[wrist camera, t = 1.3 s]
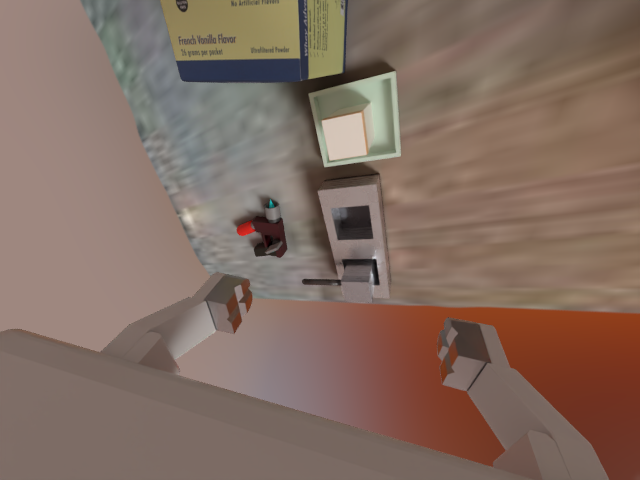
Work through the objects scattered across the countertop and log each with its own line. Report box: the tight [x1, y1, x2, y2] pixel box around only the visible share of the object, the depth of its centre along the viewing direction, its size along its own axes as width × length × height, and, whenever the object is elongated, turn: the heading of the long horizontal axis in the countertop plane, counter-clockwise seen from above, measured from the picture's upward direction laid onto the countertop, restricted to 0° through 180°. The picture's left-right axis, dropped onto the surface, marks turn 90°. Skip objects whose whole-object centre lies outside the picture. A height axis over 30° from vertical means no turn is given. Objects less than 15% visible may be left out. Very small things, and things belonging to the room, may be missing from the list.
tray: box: [308, 71, 401, 167], centre depth 32 cm, size 10×9×2 cm
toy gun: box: [237, 199, 287, 258], centre depth 45 cm, size 10×12×5 cm
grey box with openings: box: [302, 174, 391, 303], centre depth 39 cm, size 14×20×8 cm
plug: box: [321, 102, 375, 161], centre depth 29 cm, size 4×4×8 cm
